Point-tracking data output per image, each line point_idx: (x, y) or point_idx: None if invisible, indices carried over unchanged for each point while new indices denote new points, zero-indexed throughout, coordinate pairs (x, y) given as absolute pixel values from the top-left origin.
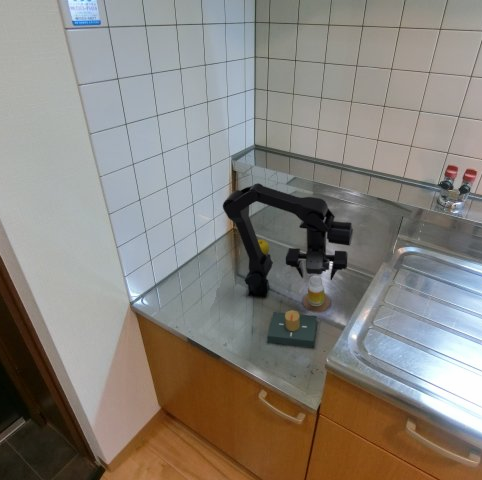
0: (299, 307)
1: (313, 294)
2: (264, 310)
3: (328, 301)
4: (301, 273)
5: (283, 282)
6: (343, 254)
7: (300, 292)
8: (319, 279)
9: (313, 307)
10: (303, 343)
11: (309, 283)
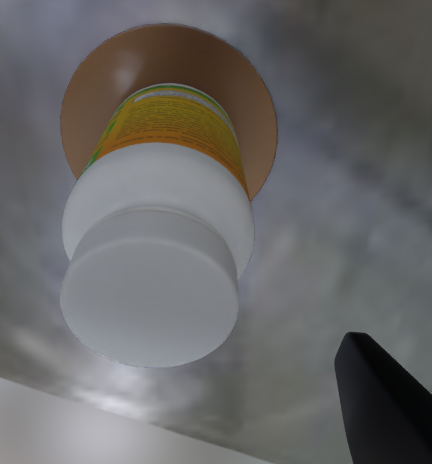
0: (311, 79)
1: (190, 134)
2: None
3: (72, 140)
4: (427, 429)
5: (382, 305)
6: None
7: (284, 230)
8: (98, 314)
9: (194, 68)
10: None
11: (236, 267)
